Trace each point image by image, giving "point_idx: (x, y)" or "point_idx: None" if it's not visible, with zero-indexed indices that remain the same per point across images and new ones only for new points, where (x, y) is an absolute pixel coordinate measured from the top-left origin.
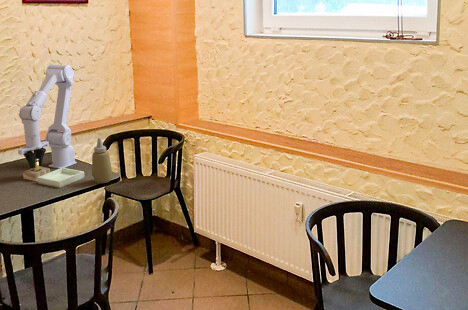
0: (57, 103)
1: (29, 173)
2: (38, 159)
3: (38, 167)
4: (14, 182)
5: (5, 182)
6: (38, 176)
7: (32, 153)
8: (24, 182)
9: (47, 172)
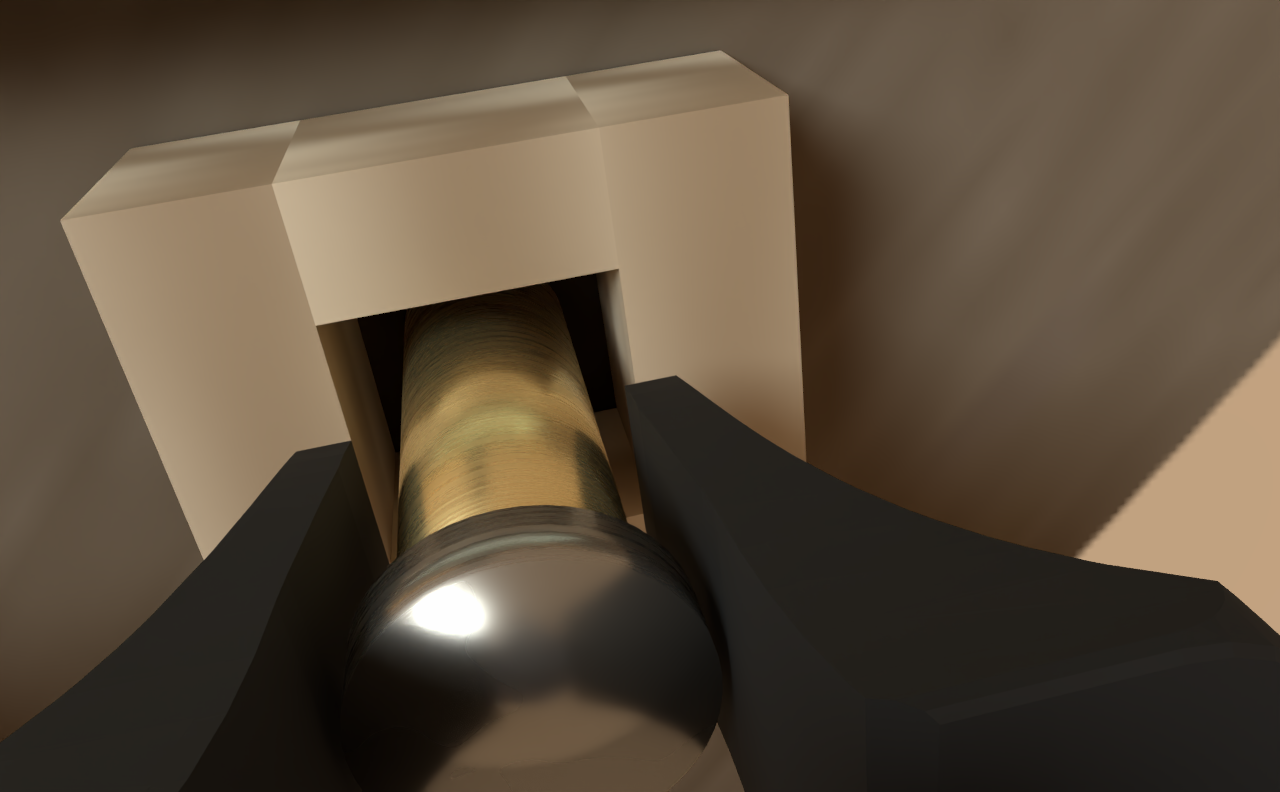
0: None
1: (796, 340)
2: (466, 561)
3: (471, 395)
4: (1022, 395)
5: (1090, 523)
6: (635, 88)
7: (1130, 769)
8: (929, 219)
9: (225, 164)
